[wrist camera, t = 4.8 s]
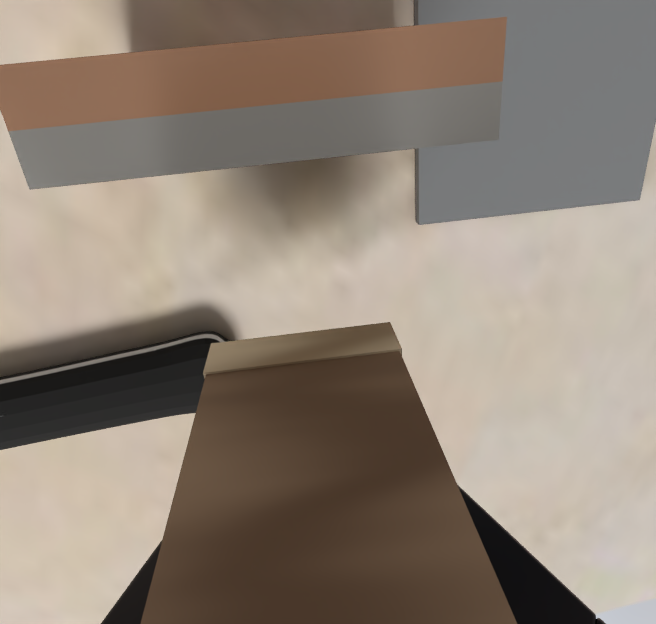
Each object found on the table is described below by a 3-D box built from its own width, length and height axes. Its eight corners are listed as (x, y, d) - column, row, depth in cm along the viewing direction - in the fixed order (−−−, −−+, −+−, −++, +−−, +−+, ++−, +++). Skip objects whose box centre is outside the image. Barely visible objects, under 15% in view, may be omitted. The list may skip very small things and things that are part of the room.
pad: (685, -79, 12) (697, -83, 12) (631, 197, 15) (639, 199, 15) (413, -55, 12) (418, -59, 11) (415, 221, 15) (419, 225, 14)
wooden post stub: (389, 322, 11) (698, 1016, 3) (394, 457, 13) (589, 1113, 5) (210, 343, 11) (-9, 1142, 3) (241, 476, 13) (166, 1193, 4)
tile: (395, 48, 13) (506, 17, 6) (396, 113, 13) (498, 139, 7) (133, 74, 12) (-16, 65, 6) (149, 138, 13) (30, 190, 7)
